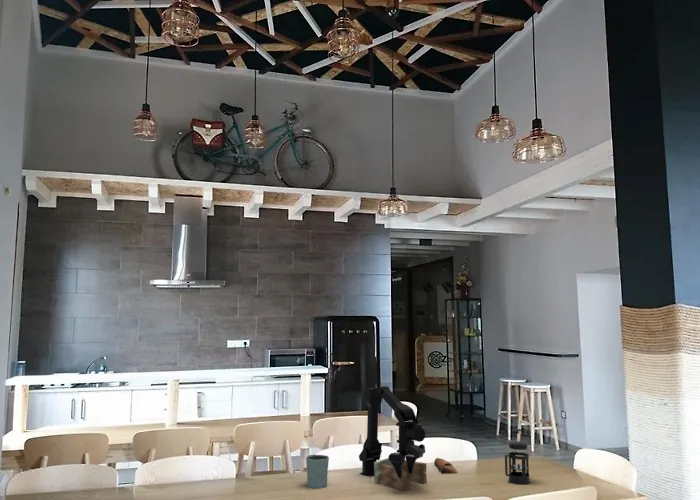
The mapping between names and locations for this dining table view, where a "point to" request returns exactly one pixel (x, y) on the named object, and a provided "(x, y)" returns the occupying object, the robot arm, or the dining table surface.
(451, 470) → the sunglasses case
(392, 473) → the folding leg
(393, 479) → the brown wooden crate
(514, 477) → the french press
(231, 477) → the dining table surface
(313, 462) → the grey-green cup
